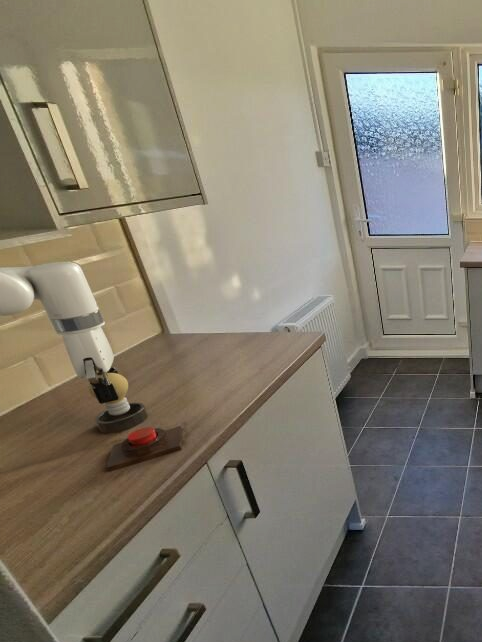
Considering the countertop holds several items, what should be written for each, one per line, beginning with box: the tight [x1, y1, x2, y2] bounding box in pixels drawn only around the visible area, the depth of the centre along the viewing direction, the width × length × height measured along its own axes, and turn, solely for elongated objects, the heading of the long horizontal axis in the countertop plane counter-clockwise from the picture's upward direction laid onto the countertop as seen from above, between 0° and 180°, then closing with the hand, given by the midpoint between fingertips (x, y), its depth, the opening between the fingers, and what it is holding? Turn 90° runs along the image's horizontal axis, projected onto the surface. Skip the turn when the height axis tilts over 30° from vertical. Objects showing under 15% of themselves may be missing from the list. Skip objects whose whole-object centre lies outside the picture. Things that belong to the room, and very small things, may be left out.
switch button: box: [127, 426, 157, 446], centre depth 89 cm, size 4×4×2 cm
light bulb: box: [88, 373, 130, 415], centre depth 95 cm, size 6×6×10 cm
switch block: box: [105, 425, 184, 473], centre depth 89 cm, size 12×9×3 cm
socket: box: [94, 401, 149, 434], centre depth 97 cm, size 9×9×4 cm
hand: (111, 393), depth 94 cm, fingers closed on light bulb, 6 cm apart
